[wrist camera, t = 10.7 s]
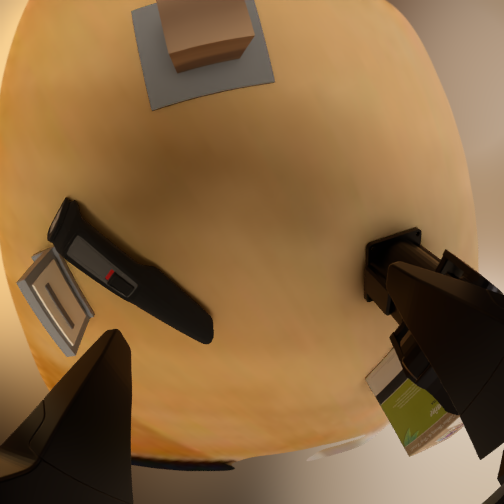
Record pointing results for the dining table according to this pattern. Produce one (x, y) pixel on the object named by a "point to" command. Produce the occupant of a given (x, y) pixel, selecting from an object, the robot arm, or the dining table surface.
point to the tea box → (410, 407)
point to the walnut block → (204, 31)
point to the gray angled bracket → (56, 299)
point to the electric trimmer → (126, 274)
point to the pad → (199, 79)
